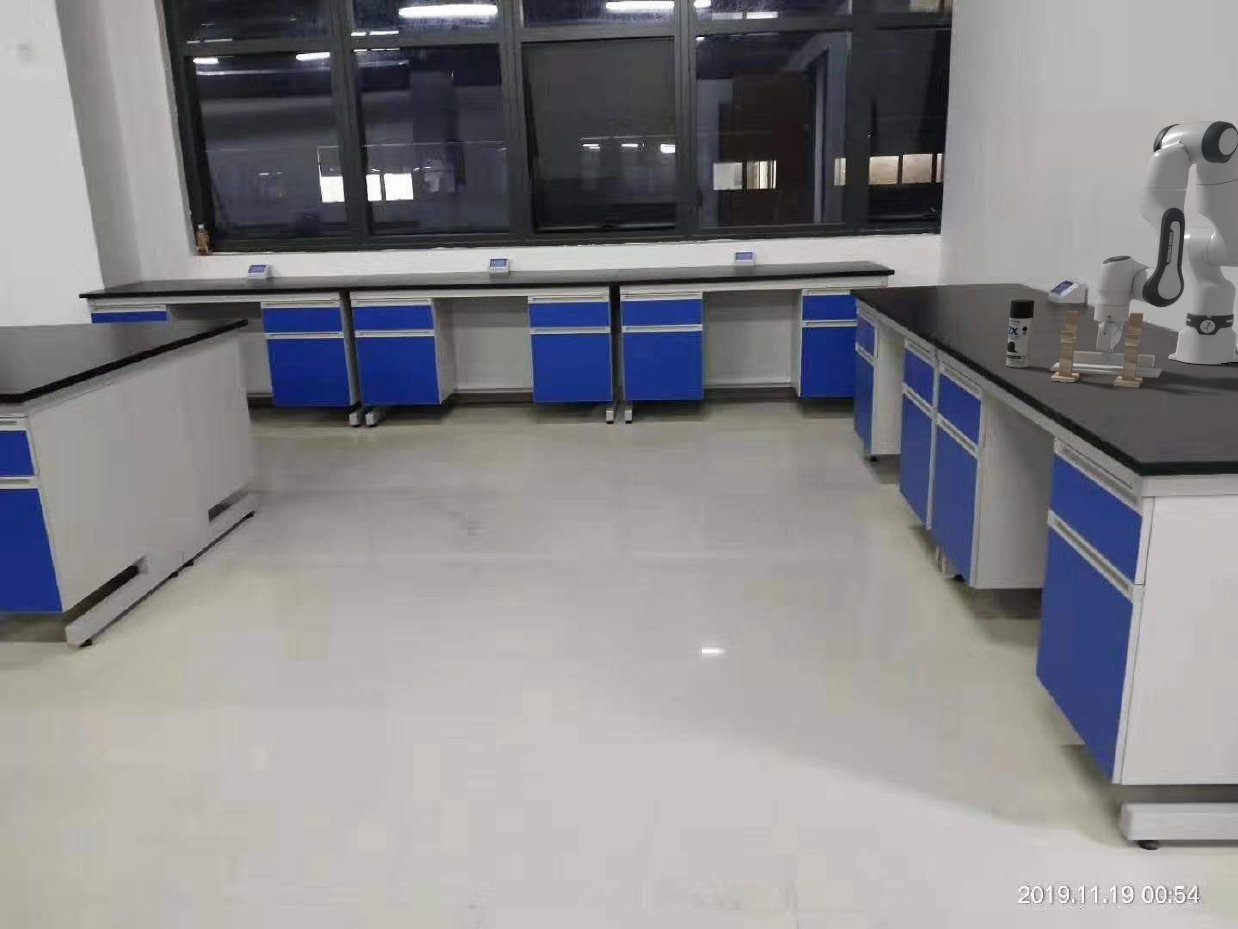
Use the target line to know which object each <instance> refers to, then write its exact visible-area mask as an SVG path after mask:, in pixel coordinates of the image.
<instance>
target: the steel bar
mask: <svg viewBox="0 0 1238 929" xmlns="http://www.w3.org/2000/svg"><path fill="white" fill-rule="evenodd" d="M1109 357H1110V359H1109V363H1107V364H1106V363H1102V351H1083V350H1081V351H1080V350H1074V358H1073V363H1075V364H1092V365H1108V366H1123V362H1124V353H1121V352H1113V353H1110V356H1109ZM1155 358H1156V357H1155V354H1139V353H1138V360H1137V367H1141V368H1154V365H1155V364H1154V363H1155Z"/></svg>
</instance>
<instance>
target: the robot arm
mask: <svg viewBox="0 0 1238 929" xmlns="http://www.w3.org/2000/svg"><path fill="white" fill-rule="evenodd" d="M1152 146H1153V147H1152V150H1153V151H1152V152H1153V154H1151V156H1150V159H1149V161H1148V164H1147V166H1146V169H1145V171H1144V172H1145V173H1144V176H1143V179H1142V185H1141V189H1140V192H1139V193H1140V194H1139V195H1140V196H1139V205H1138V206H1139V212H1140V214H1141V216H1142V217H1143V218H1144V220H1146V221H1147V222H1148V223H1149V224H1150V225H1151V226H1152V228H1153V230H1154V231H1155V232H1156V235H1157V245H1156V254H1155V255H1156V256H1155V257H1156V258H1155V265H1154V267H1152V266H1148V265H1146V264H1142V263H1141V262H1138V261H1137V260H1135V259H1134V258H1133V257H1132V256H1130V255H1117V256H1112V257H1108V258H1107V259H1105V260H1104V261H1102V263H1101V265H1100V267H1099V272H1098V275H1097V276H1098V277H1097V284H1096V292H1097V298H1096V300H1095V304H1094V317H1093V320H1094V321H1097V326H1098V332H1097V337H1096V338H1097V339H1096V348H1095V349H1096V352H1102V363H1106V364H1107V363H1109V359H1110V357H1109V356H1110V353H1114V352H1113V351H1114V349H1115V346H1116V345H1117V344H1118V343H1119V342H1120V341H1121V338H1122V333H1123V328H1124V324H1125V322H1127V321H1129V318H1130V307H1131V306H1130V305H1131V302H1132V300H1135V301H1139V302H1142V303H1146V304H1149V305H1150V306H1154V307H1157V308H1167V307H1170V306H1171V305H1174V304H1175V303H1176V302H1178V301H1179V299H1180V298H1181V297H1182V294H1183V292H1184V290H1185V289H1184V288H1185V279H1184V275H1183V268H1184V270H1185V271H1186V274H1187V275H1188V279H1189V284H1190V298H1189V310H1188V312H1187V313H1186V317H1185V325H1186V326H1185V327H1184V328H1183V329H1181V331H1178V336H1177V344H1176V350H1175V352H1174V353H1171V354H1169V355H1168V360H1174V361H1180V362H1183V363H1188V364H1189V363H1190V364H1198V365H1222V364H1221V363H1227V362H1238V354H1237V353H1236V350H1237V348H1238V347H1237V338H1238V334H1237V333H1236V331H1234V329H1233V326H1234V320H1235V314H1234V306H1235V298H1236V287H1235V284H1233V282H1232V281H1230V280H1229V279H1227V278H1226V277H1225V276H1224V274H1223V272H1222V268H1221V267H1228V268H1229V267H1231V268H1233V267H1234V268H1238V129H1237V127H1236V126H1235V125H1234V124H1233V123H1232V122H1230V121H1229V122H1228V121H1222V120H1218V121H1210V120H1209V121H1205V120H1203V121H1201V120H1200V121H1195V122H1186V123H1174V124H1171V125H1168V126H1165V127H1163V128H1161V130H1160V131H1159V132H1158V134H1157V135H1156V137H1155V139H1154V141H1153V145H1152ZM1194 164H1195V165H1196V168H1195V208H1196V210H1197V212H1198V213H1199V214H1200V215H1201V216H1203V217H1205V218H1206V219H1208V221H1209V222H1210V223H1211V224H1212V226H1197V227H1192V228H1187V229H1186V217H1185V201H1186V196H1187V195H1186V194H1187V189H1188V184H1189V177H1190V176H1189V174H1190V168H1191V167H1192V166H1193V165H1194ZM1182 266H1183V268H1182Z"/></svg>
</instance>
